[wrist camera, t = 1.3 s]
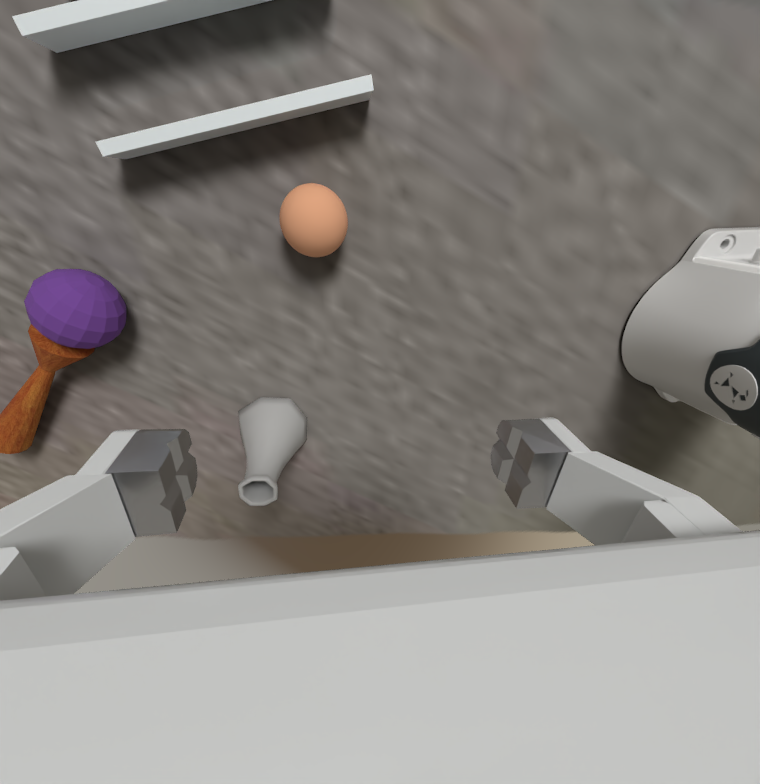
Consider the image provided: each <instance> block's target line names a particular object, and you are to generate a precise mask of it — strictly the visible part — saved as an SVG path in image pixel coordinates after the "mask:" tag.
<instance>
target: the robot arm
mask: <svg viewBox="0 0 760 784" xmlns="http://www.w3.org/2000/svg"><path fill="white" fill-rule="evenodd" d="M622 358H623V362H624V365H625V367H626V369H627V370H628V372H629V373H630V374H631V375H632V376H633V377H634V378H635V379H637V380H639V381H641V382H643V383H646V384H648V385H651V386H653V387H654V388H655V390H656V391H657V393H658V394H659V395H660V397H662V398H663V399H665V400H667V401H669V402H677V401H682V402H684V403H686V404H688V405H690V406H692V407H694V408H696V409H698V410H701V411H703V412H705V413H707V414H709V415H711V416H713V417H715V418H717V419H719V420H722V421H724V422H726V423H728V424H732V425H738V426H740V427H742V428H744V429H745V430H747V431H749V432H750V433H752V435H753V436H755V437H757V438H758V439H760V227H751V228H719V229H709V230H707V231H705V232H703V233H702V234H701V235H700V236H699V237H698V238H697V239H696V240H695V242H694V243H693V244H692V245H691V247H690V248H689V250H688V251H687V252H686V254H685V255H684V257H683V258H682V260H681V261H680V262H679V263H678V264H677V265H676V266H675V267H673V268H672V269H671V270H670V271H669V272H668V273H666V274H665V275H664V276H663V277H661V278H660V279H659V280H658V281H657V282H656V283H655V284H654V285H653V286H652V287H651V288H650V289H649V290H648V291H647V293H646V294H645V295H644V296H643V297H642V299H641V300H640V301H639V303H638V304H637V306H636V307H635V309H634V311H633V313H632V314H631V316H630V318H629V321H628V323H627V325H626V328H625V331H624V335H623V340H622ZM496 433H497V435H498V437H499V440H498V441H497V442H496V443H495V444H494V445H493V447H492V452H491V465H492V468H493V472H494V473H495V475H496V477H497V478H498V479H499V480H501V481H502V482H504V483H505V484H506V488H505V491H506V493H507V495H508V496H509V498H510V499H511V501H512V502H513V504H514V506H515V507H516V509H517V508H540V507H547V508H546V509H547V510H548V511H550V512H551V513H553V514H554V515H555V516H557V517H558V518H559V519H561V520H562V521H563V522H565V523H566V524H567V525H569V526H570V527H571V528H573V529H574V530H575V531H577V532H578V533H579V534H581V535H582V536H583V537H585V538H586V539H587V540H589V541H590V542H591V543H593V544H594V545H595V546H584V547H574V548H564V549H553V550H542V551H531V552H521V553H509V554H498V555H488V556H475V557H464V558H454V559H444V560H443V559H442V560H432V561H421V562H410V563H400V564H390V565H379V566H368V567H357V568H347V569H337V570H326V571H315V572H304V573H293V574H282V575H272V576H262V577H250V578H239V579H228V580H218V581H207V582H197V583H186V584H175V585H164V586H153V587H142V588H132V589H121V590H110V591H100V592H89V593H79V594H74V593H75V592H76V591H77V590H79V589H80V588H81V587H82V586H83V585H84V584H85V583H86V582H88V581H89V580H90V579H91V578H92V577H93V576H94V575H95V574H96V573H98V572H99V571H100V570H101V569H102V568H103V567H104V566H106V564H108V563H109V562H110V561H111V560H112V559H113V558H115V556H117V555H118V554H119V553H120V552H121V551H122V550H124V549H125V548H126V547H127V546H128V545H129V544H130V543H131V542H133V541H134V540H135V537H139V536H149V535H159V534H170V533H177V531H178V529H179V526H180V524H181V522H182V519H183V517H184V514H185V512H186V507H185V503H184V502H185V501H186V500H187V499H189V498H190V497H191V496H192V495H193V493H194V490H195V487H196V481H197V464H196V459H195V458H194V457H193V456H192V455H191V454H190V453H189V452H188V451H189V448H190V446H191V444H192V442H191V438H190V435H189V432H188V431H187V430H186V429H146V430H118V431H114V432H112V433H111V434H110V436H109V437H108V438H107V439H106V440H105V441H104V442H103V444H102V445H101V446H100V447H99V448H98V449H97V451H96V452H95V453H94V454H93V455H92V456H91V458H90V459H89V460H88V461H87V462H86V463H85V464H84V466H83V467H82V468H81V469H80V470H79V471H78V473H77V474H76V475H72V476H66V477H64V478H62V479H60V480H58V481H56V482H54V483H52V484H50V485H48V486H46V487H44V488H42V489H40V490H38V491H36V492H34V493H32V494H30V495H28V496H26V497H24V498H22V499H20V500H18V501H16V502H14V503H12V504H10V505H8V506H6V507H4V508H2V509H0V784H760V530H755V531H745V532H743V531H741V530H740V529H739V528H738V527H736V526H735V525H734V524H733V523H731V522H730V521H729V520H728V519H726V518H725V517H724V516H723V515H721V514H720V513H719V512H718V511H716V510H715V509H714V508H713V507H711V506H710V505H709V504H708V503H707V502H705V501H704V500H703V499H702V498H700V497H699V496H697V495H695V494H692V493H690V492H688V491H686V490H683V489H681V488H679V487H677V486H674V485H672V484H670V483H667V482H665V481H663V480H661V479H658V478H656V477H654V476H652V475H649V474H647V473H645V472H642V471H640V470H638V469H636V468H633V467H631V466H629V465H626V464H624V463H622V462H620V461H617V460H615V459H613V458H611V457H608V456H606V455H604V454H601V453H599V452H597V451H593V452H591V451H590V450H589V449H588V448H587V447H586V446H585V445H584V444H583V443H582V442H581V441H580V440H579V439H578V438H577V437H576V436H574V435H573V434H572V433H571V432H570V431H569V430H568V429H567V428H566V427H565V426H564V425H563V424H562V423H561V422H560V421H559V420H558V419H555V418H552V417H551V418H536V419H521V420H502V421H501V422H500V424H499V425H498V429H497V432H496Z"/></svg>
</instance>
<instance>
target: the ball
mask: <svg viewBox="0 0 760 784" xmlns="http://www.w3.org/2000/svg"><path fill="white" fill-rule="evenodd" d="M280 226H281V229H282V232H283V235H284V237H285V239H286V240H287V242H288V243H289V244H290V245H291V246H292V247H293V248H294V249H295V250H296V251H298V252H299V253H301V254H303V255H306V256H310V257H323V256H327V255H329V254H331V253H333V252H334V251H335V250H336V249H338V248H339V246H340V245H341V244H342V242H343V240H344V238H345V236H346V232H347V226H348V220H347V213H346V210H345V207H344V205H343V203H342V201H341V200H340V199H339V197H338V196H337V195H336V194H335V193H334V192H333V191H332V190H330V189H329V188H327V187H325V186H323V185H320V184H314V183H308V184H303V185H300V186H298V187H296V188H294V189H293V190H292V191H290V192H289V193H288V195H287V196H286V197H285V199H284V201H283V203H282V206H281V210H280Z"/></svg>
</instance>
